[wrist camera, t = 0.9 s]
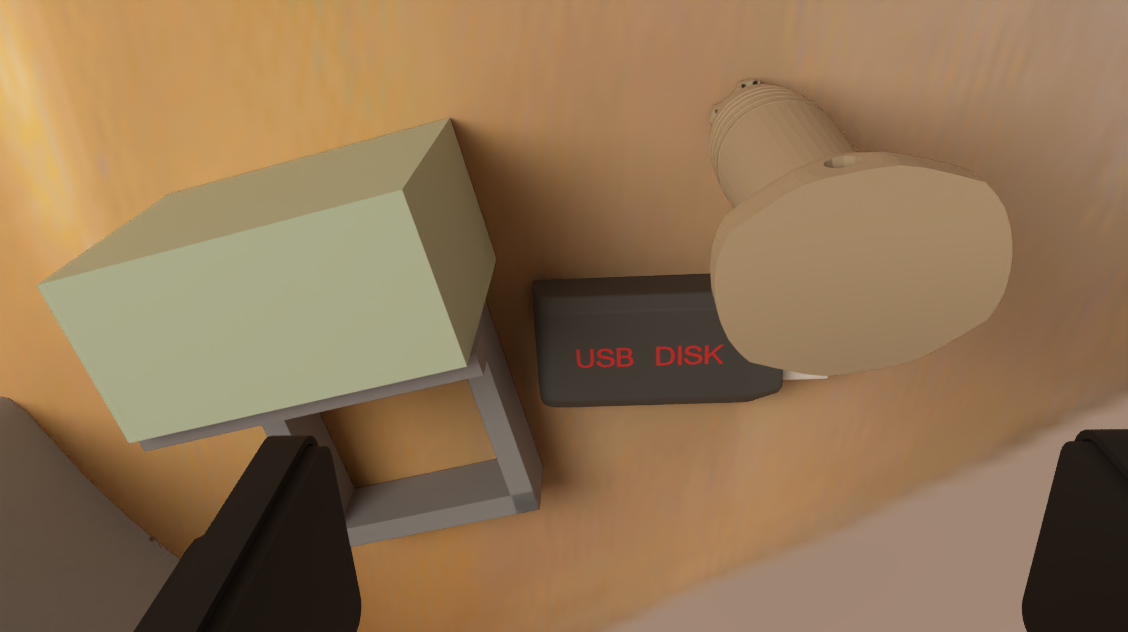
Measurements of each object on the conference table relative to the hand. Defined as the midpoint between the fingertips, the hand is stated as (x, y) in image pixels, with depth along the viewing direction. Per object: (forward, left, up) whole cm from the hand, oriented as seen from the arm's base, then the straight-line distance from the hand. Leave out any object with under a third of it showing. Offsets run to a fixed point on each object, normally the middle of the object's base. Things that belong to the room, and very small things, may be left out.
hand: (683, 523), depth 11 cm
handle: (-4, +1, -24) cm, 24 cm away
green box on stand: (+13, +7, -24) cm, 28 cm away
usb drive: (0, +10, -24) cm, 26 cm away
